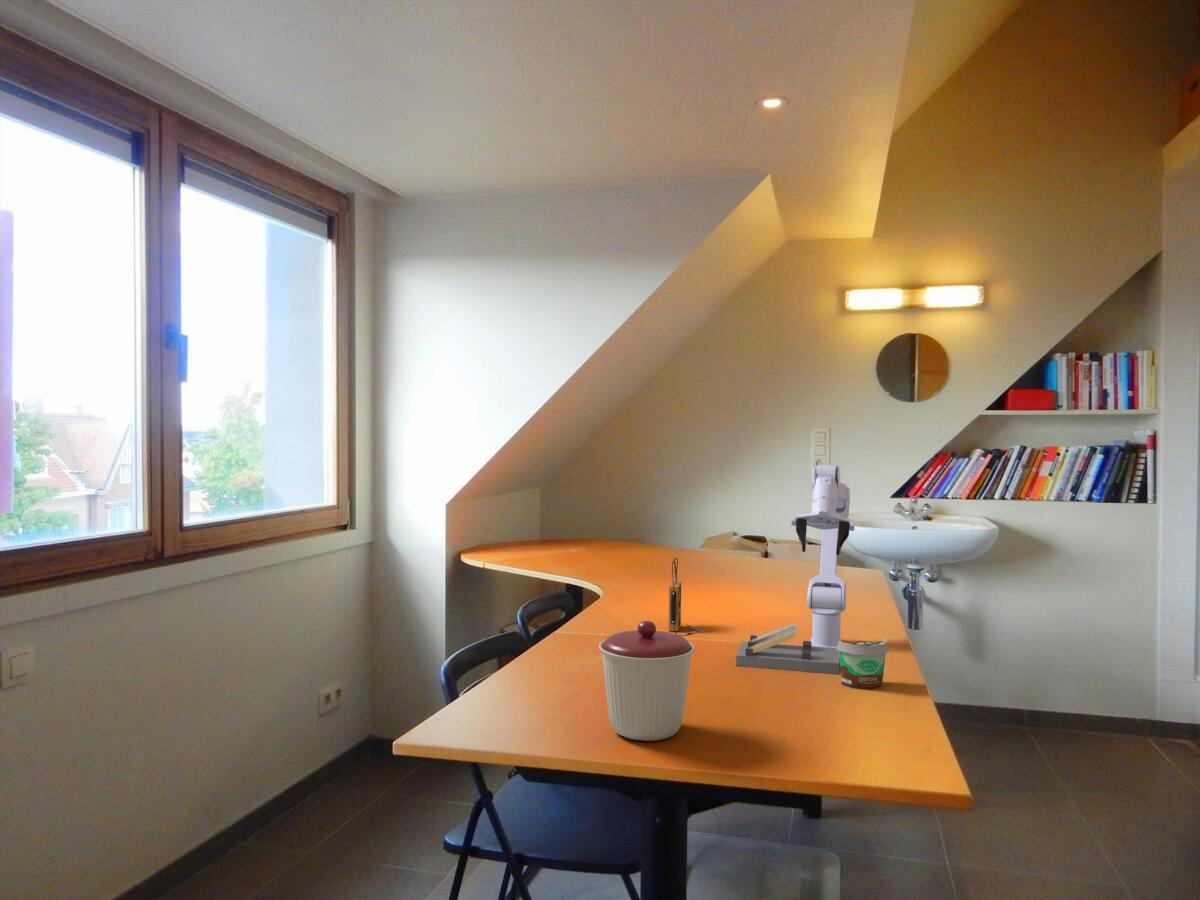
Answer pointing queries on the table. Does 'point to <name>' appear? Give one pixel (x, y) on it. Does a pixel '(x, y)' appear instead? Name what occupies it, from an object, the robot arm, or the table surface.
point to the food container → (862, 664)
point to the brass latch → (773, 641)
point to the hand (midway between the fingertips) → (820, 551)
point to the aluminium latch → (775, 633)
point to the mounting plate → (790, 657)
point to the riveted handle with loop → (675, 603)
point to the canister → (646, 681)
